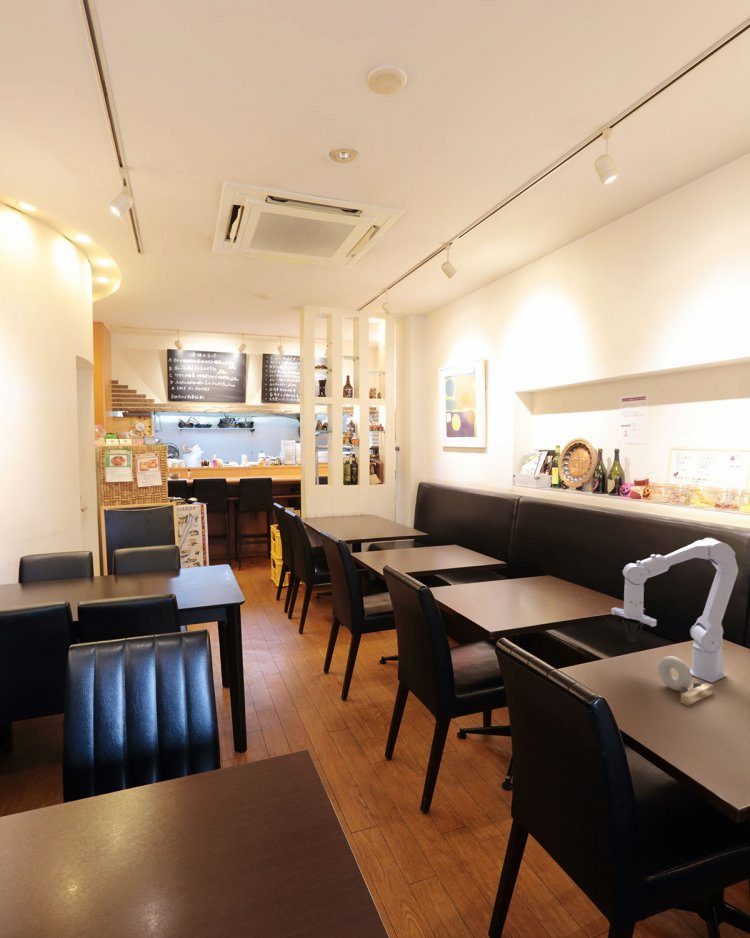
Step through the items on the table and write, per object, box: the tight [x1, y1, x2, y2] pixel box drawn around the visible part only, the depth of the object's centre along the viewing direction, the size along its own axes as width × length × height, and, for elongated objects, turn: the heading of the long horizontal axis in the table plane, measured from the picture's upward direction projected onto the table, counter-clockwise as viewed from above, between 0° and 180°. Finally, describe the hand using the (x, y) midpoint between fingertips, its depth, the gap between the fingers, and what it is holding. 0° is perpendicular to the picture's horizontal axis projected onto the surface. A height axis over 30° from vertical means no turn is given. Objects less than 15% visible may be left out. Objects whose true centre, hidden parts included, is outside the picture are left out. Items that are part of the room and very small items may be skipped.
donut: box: [657, 655, 693, 692], centre depth 158 cm, size 10×4×10 cm, turn 27°
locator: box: [680, 680, 714, 706], centre depth 154 cm, size 14×4×3 cm, turn 122°
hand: (632, 641), depth 172 cm, fingers closed
